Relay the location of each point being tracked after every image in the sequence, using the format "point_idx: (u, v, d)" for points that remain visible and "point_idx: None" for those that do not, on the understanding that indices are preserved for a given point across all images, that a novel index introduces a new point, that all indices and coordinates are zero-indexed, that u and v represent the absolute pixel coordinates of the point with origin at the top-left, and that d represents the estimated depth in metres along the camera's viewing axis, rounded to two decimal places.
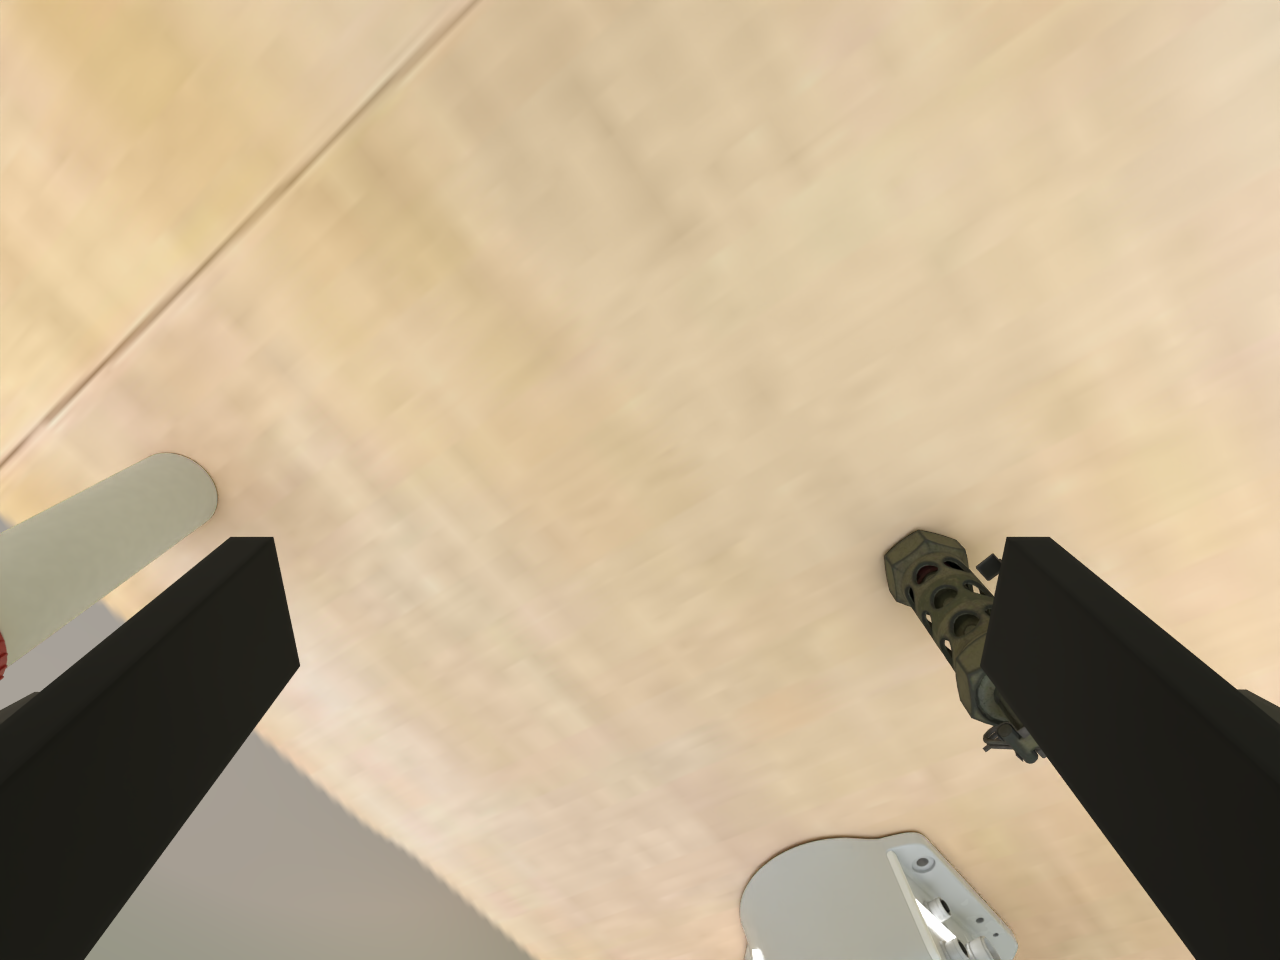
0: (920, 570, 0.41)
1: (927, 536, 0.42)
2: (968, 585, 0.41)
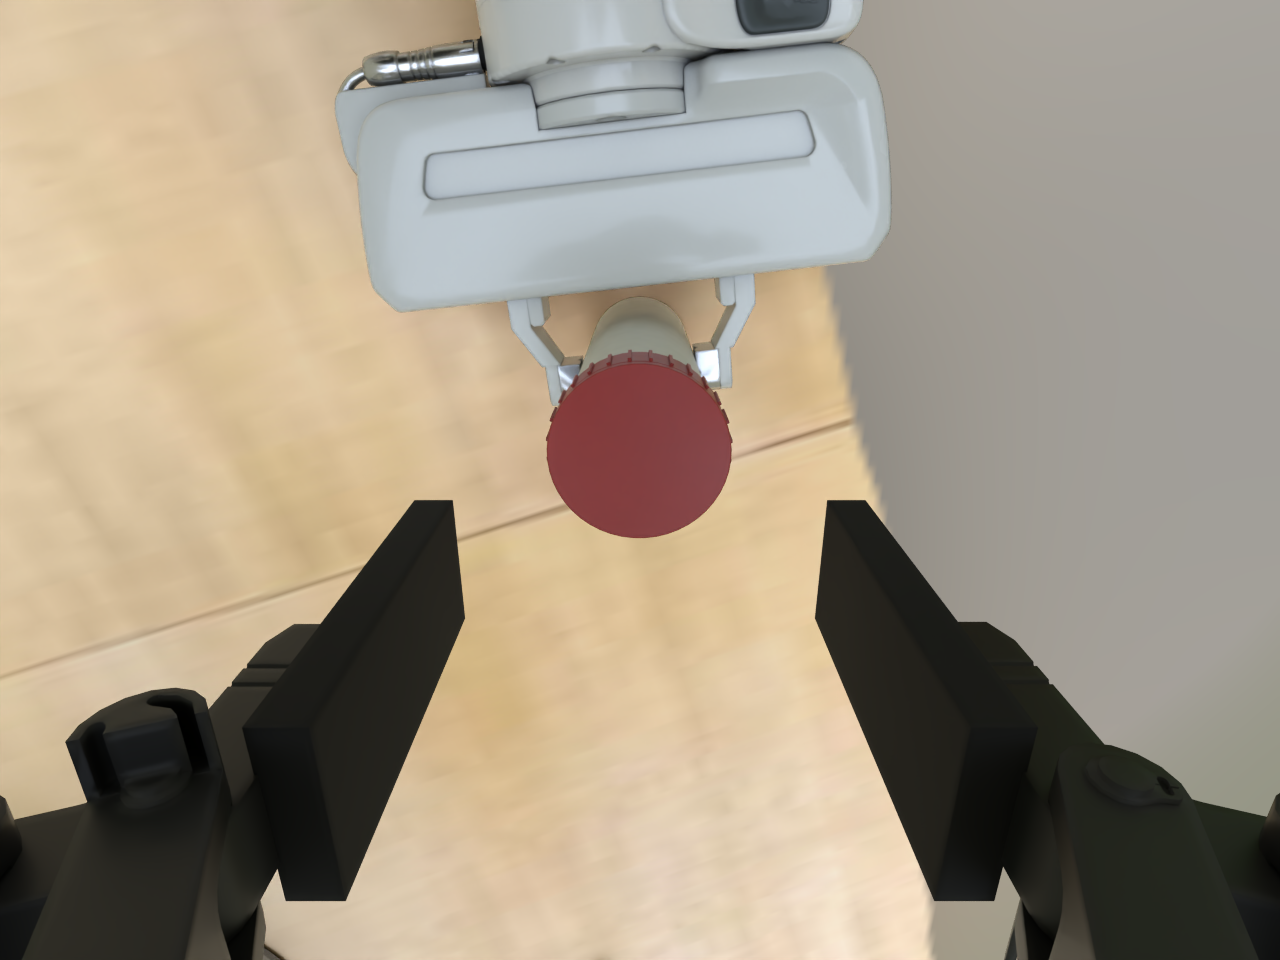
0: None
1: None
2: None
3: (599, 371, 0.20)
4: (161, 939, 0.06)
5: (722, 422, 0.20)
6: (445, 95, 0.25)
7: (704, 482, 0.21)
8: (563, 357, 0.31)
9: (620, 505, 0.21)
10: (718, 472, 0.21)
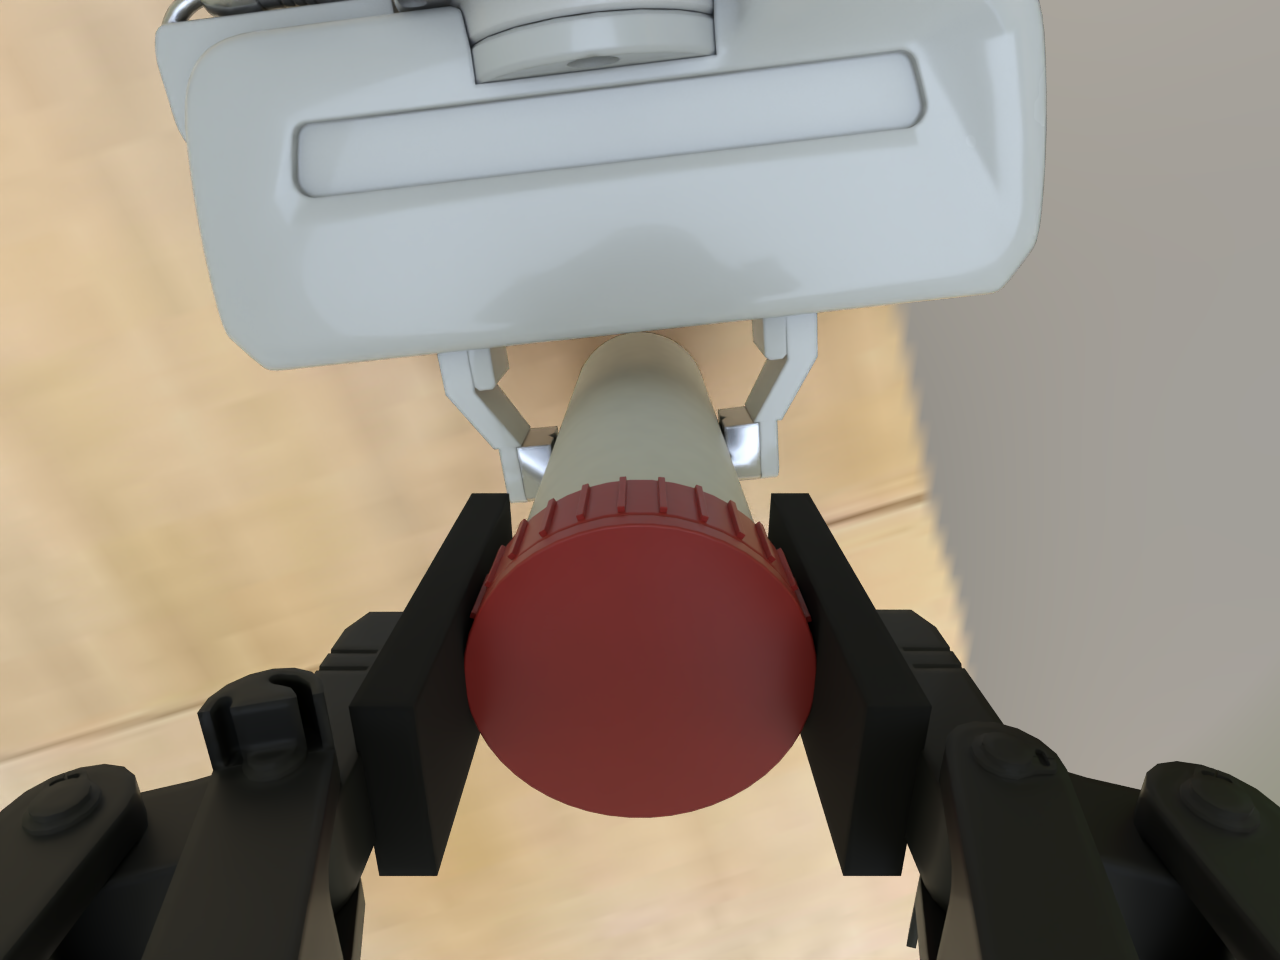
0: None
1: None
2: None
3: (561, 536, 0.10)
4: (281, 911, 0.06)
5: (802, 628, 0.10)
6: (321, 26, 0.15)
7: (763, 730, 0.11)
8: (528, 429, 0.21)
9: (605, 766, 0.11)
10: (790, 713, 0.11)
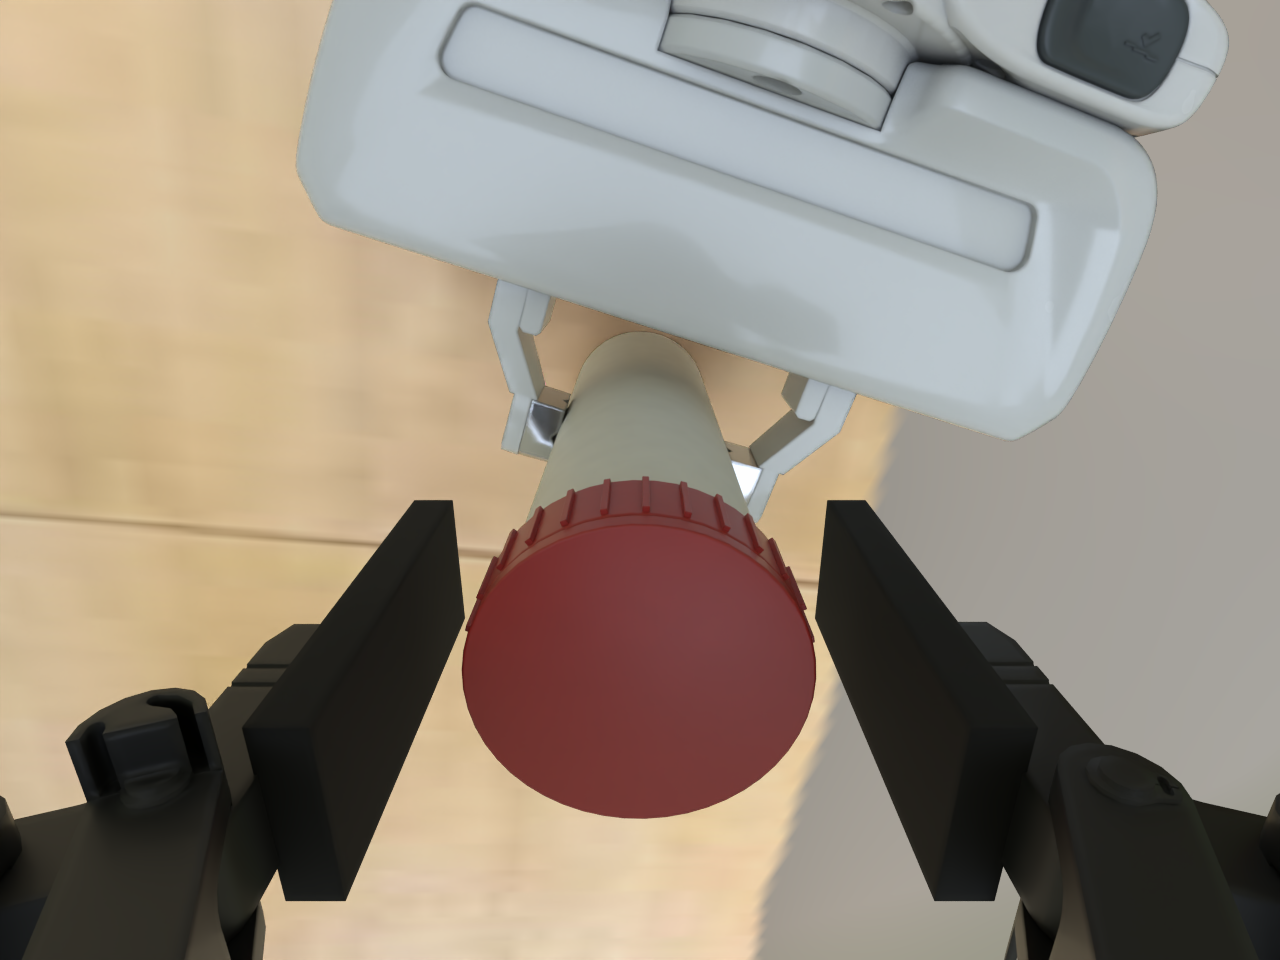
0: None
1: None
2: None
3: (471, 624, 0.10)
4: (161, 939, 0.06)
5: (714, 545, 0.10)
6: None
7: (772, 646, 0.10)
8: (543, 386, 0.20)
9: (682, 765, 0.11)
10: (780, 616, 0.10)
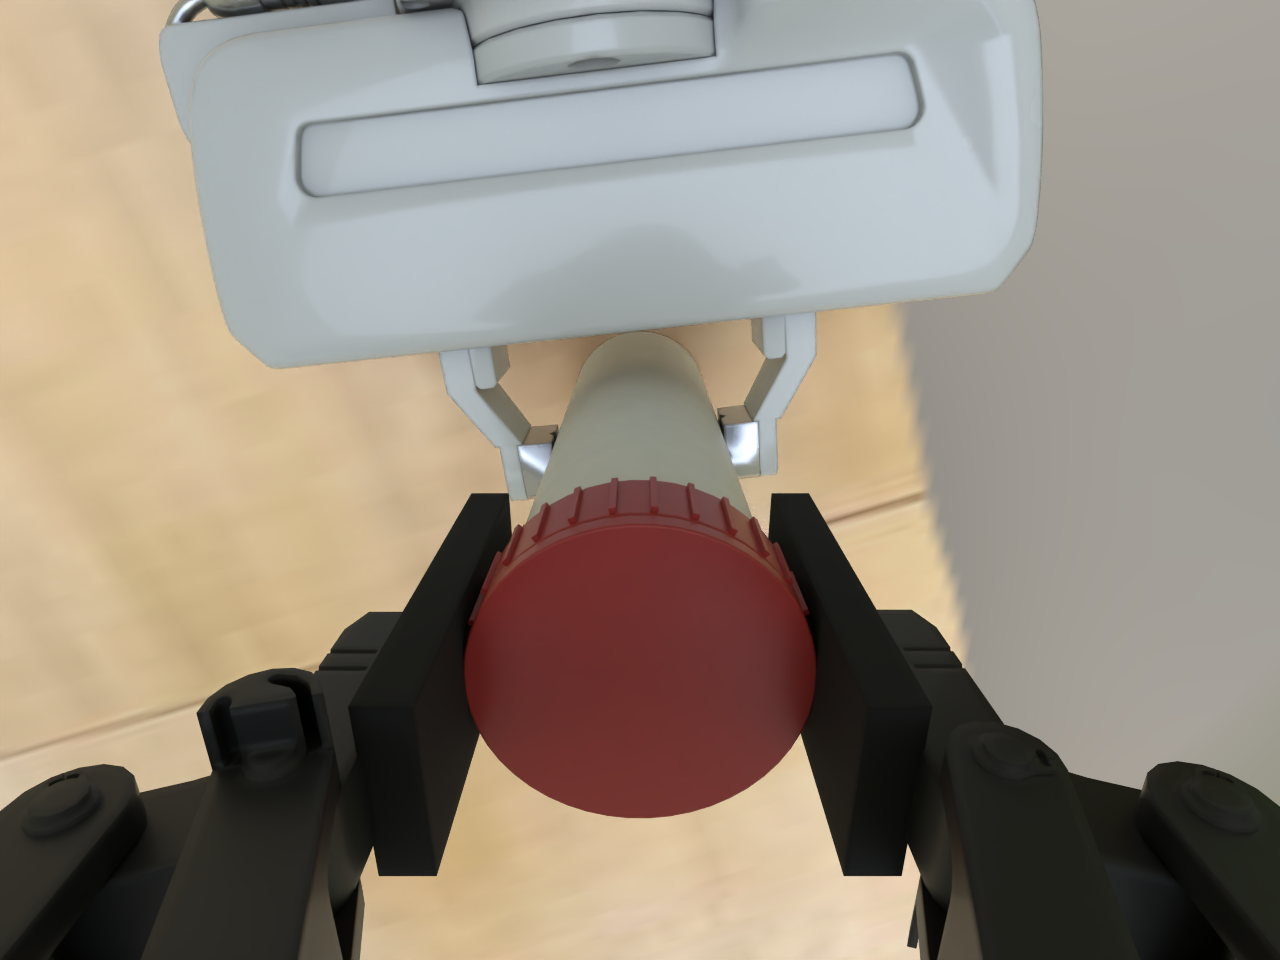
0: None
1: None
2: None
3: None
4: (281, 911, 0.06)
5: (641, 530, 0.10)
6: (325, 27, 0.15)
7: (746, 602, 0.10)
8: (528, 428, 0.21)
9: (719, 744, 0.11)
10: (738, 572, 0.10)
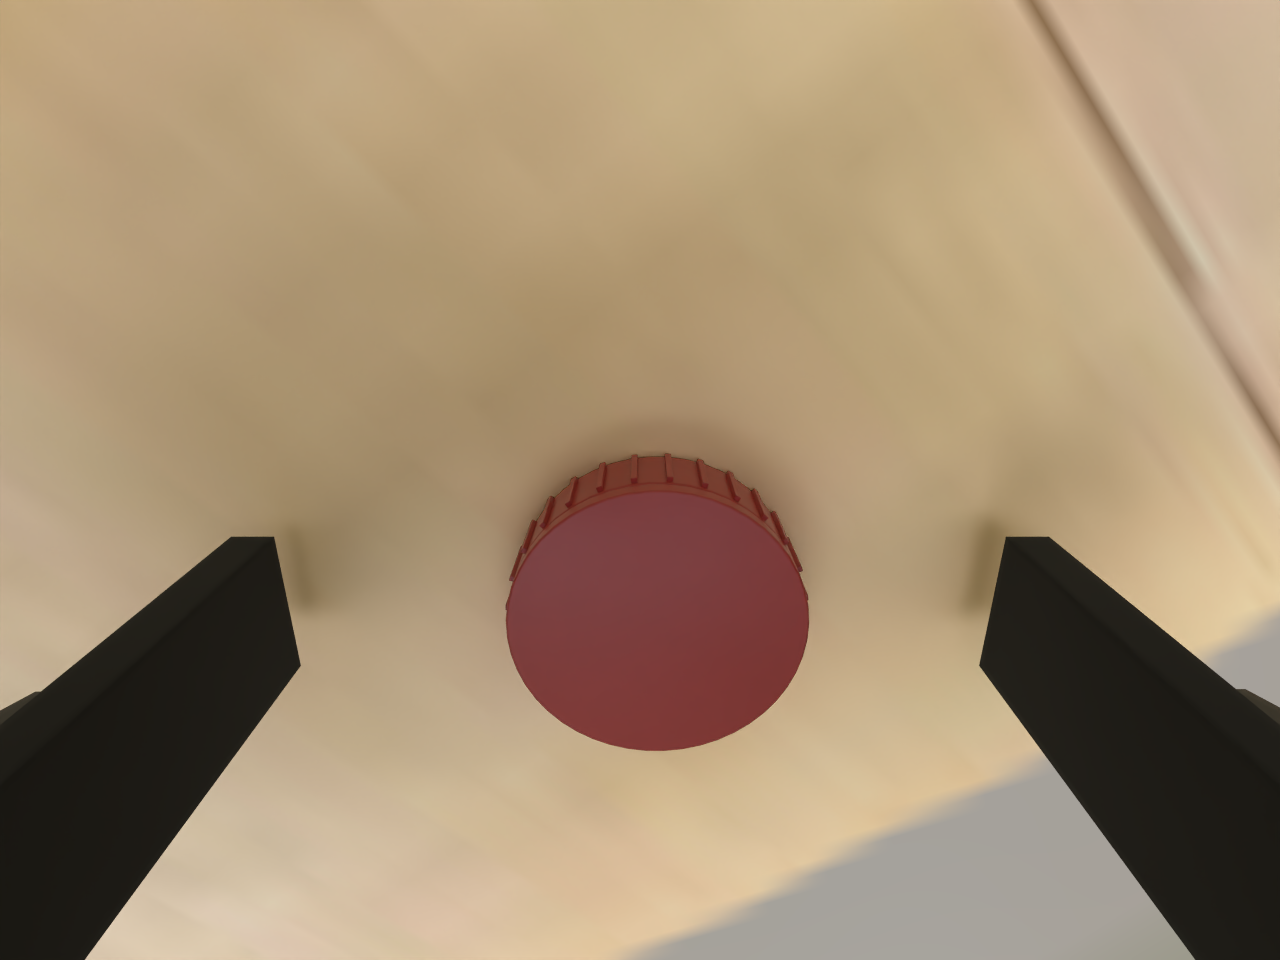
0: None
1: None
2: None
3: None
4: None
5: (659, 496, 0.12)
6: None
7: (748, 558, 0.12)
8: None
9: (725, 684, 0.13)
10: (741, 532, 0.12)
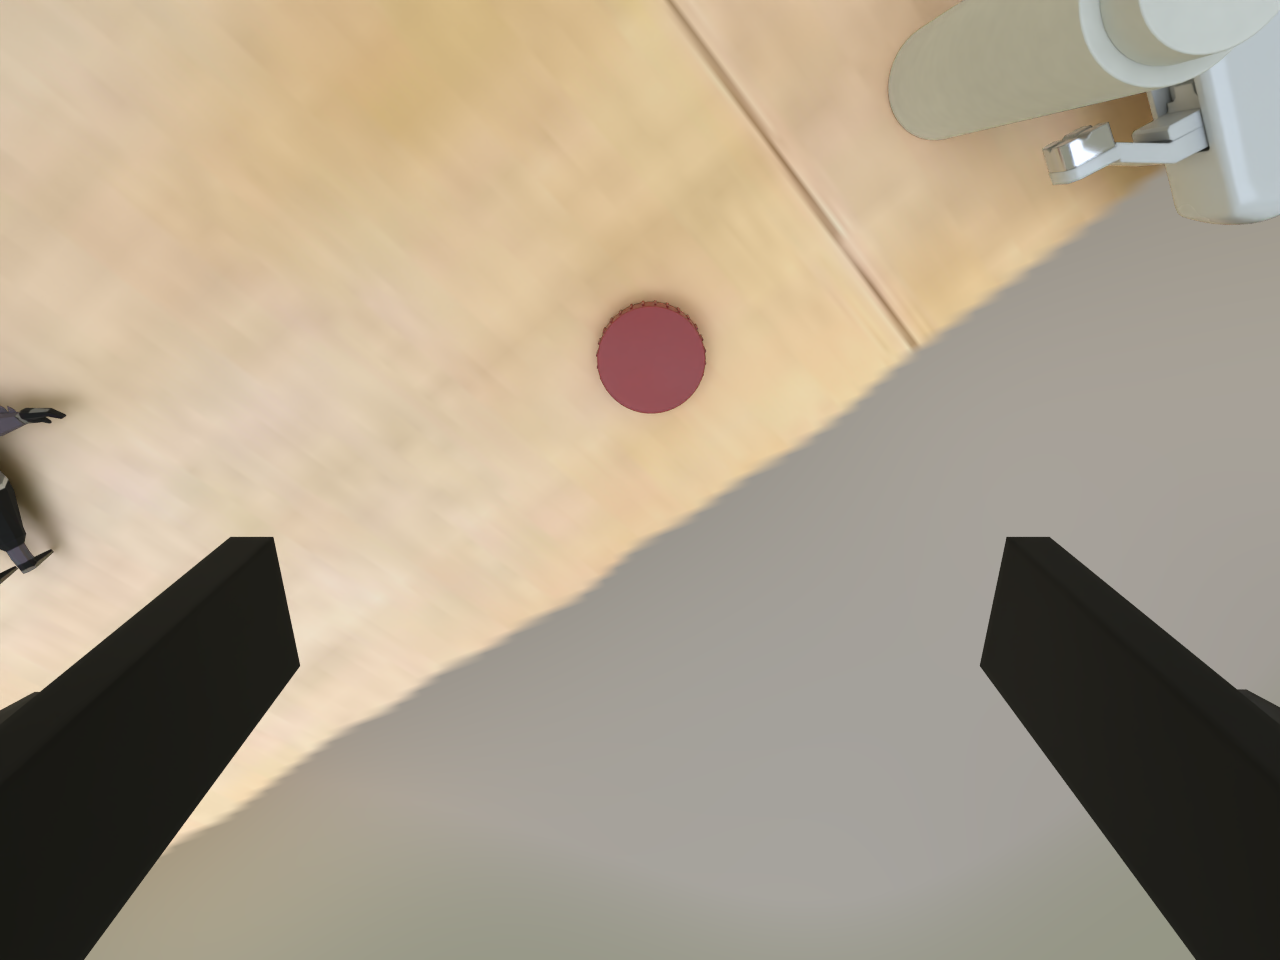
0: None
1: None
2: None
3: (597, 362, 0.35)
4: None
5: (651, 308, 0.34)
6: None
7: (682, 332, 0.35)
8: None
9: (676, 383, 0.36)
10: (680, 321, 0.34)
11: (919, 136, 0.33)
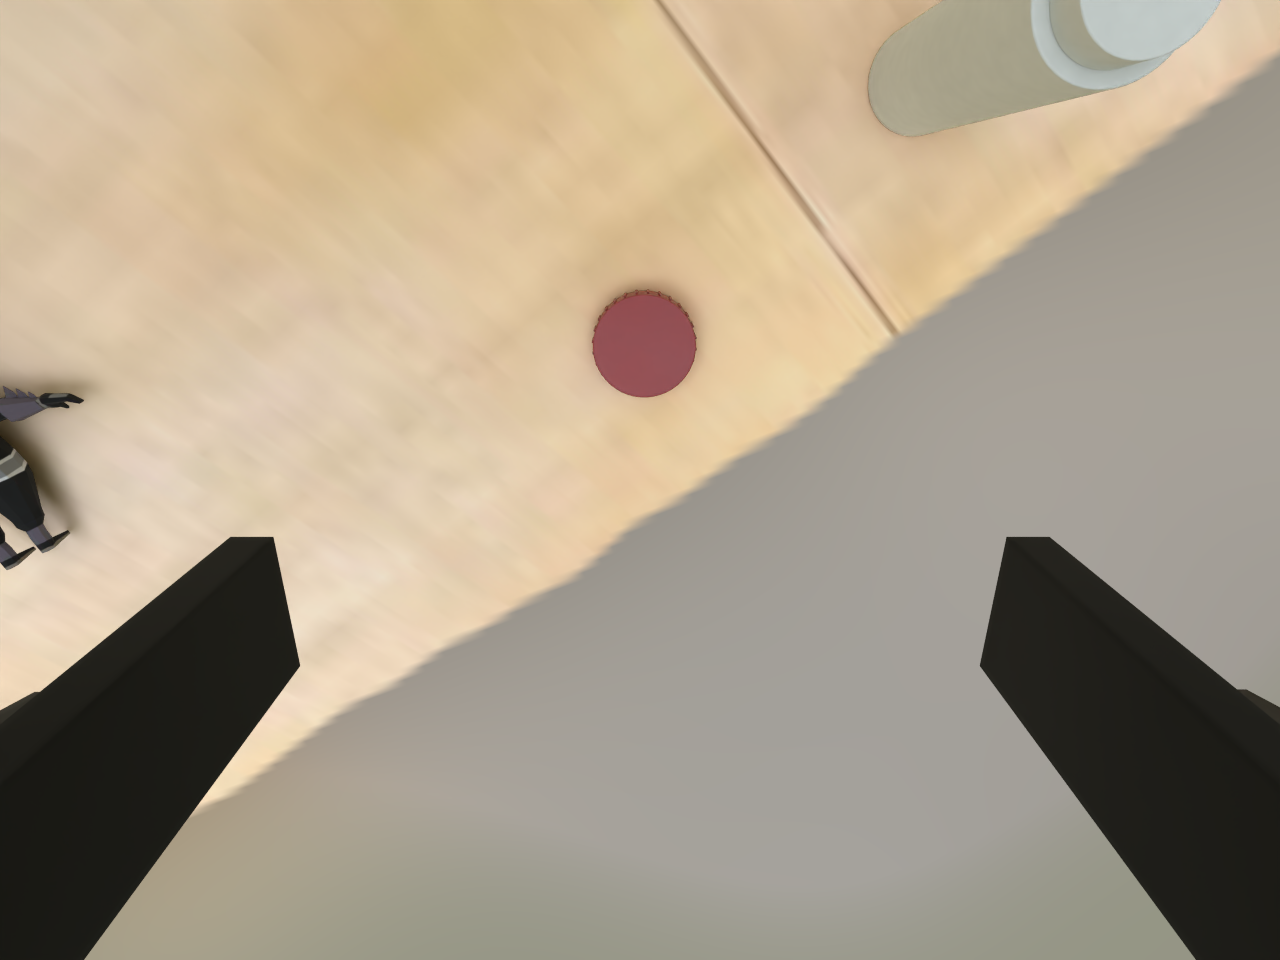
0: None
1: None
2: None
3: (593, 348, 0.37)
4: None
5: (644, 296, 0.36)
6: None
7: (674, 319, 0.36)
8: None
9: (668, 368, 0.37)
10: (671, 309, 0.36)
11: (898, 132, 0.35)
